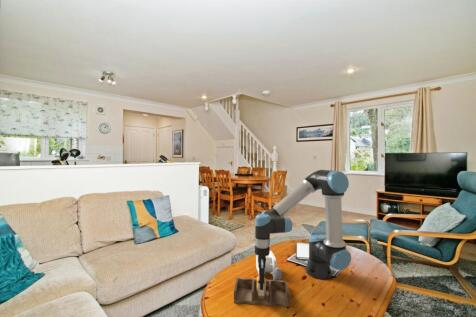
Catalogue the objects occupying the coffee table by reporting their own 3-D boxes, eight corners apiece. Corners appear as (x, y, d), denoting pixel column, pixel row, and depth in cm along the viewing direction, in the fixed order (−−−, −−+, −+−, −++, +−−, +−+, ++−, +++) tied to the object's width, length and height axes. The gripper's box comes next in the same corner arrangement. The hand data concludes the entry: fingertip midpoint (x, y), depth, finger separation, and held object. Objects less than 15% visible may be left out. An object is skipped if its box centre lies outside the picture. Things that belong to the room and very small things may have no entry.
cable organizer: (277, 280, 128) (277, 260, 128) (259, 281, 127) (259, 260, 127) (271, 267, 142) (271, 249, 142) (255, 268, 142) (255, 250, 142)
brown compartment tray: (286, 291, 117) (286, 280, 117) (289, 306, 105) (290, 294, 105) (236, 288, 119) (236, 277, 119) (233, 302, 107) (234, 290, 107)
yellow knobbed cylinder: (256, 293, 113) (256, 273, 113) (265, 293, 112) (265, 274, 112) (256, 299, 108) (257, 278, 108) (265, 299, 108) (266, 278, 108)
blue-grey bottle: (281, 284, 123) (281, 266, 123) (282, 289, 119) (282, 270, 119) (272, 284, 124) (273, 266, 124) (273, 288, 119) (273, 270, 119)
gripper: (254, 239, 119) (254, 282, 119) (254, 252, 102) (253, 302, 102) (268, 239, 119) (267, 283, 119) (270, 253, 101) (269, 304, 101)
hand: (261, 292), depth 110 cm, fingers closed on yellow knobbed cylinder, 4 cm apart
